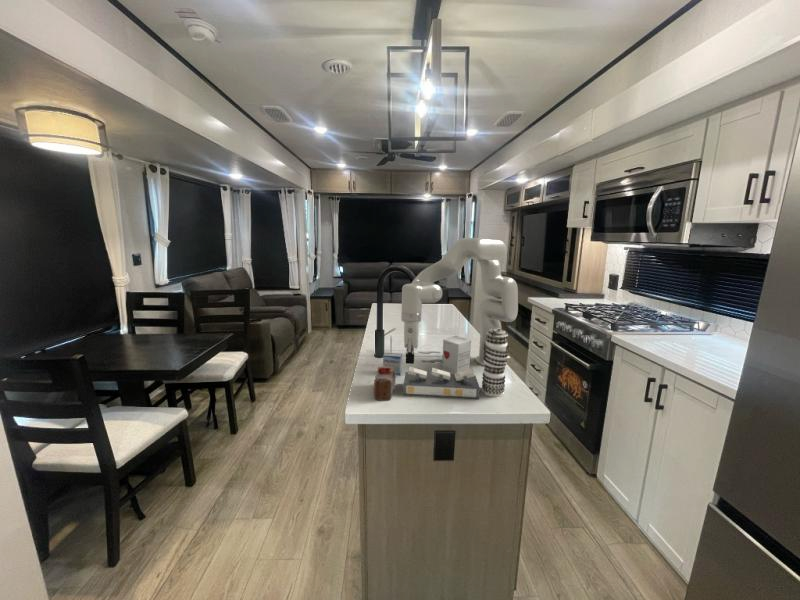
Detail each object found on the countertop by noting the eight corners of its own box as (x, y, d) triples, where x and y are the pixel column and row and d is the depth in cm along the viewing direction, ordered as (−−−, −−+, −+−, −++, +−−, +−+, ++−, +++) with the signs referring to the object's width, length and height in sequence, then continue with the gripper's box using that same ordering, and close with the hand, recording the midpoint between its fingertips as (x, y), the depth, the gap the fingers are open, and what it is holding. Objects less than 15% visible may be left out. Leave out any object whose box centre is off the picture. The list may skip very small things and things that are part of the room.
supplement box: (441, 370, 144) (442, 338, 141) (454, 365, 150) (455, 335, 147) (456, 377, 137) (458, 344, 135) (469, 372, 143) (471, 340, 140)
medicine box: (382, 374, 139) (382, 355, 138) (384, 370, 144) (384, 352, 142) (400, 375, 138) (400, 356, 137) (401, 371, 143) (402, 353, 141)
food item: (376, 384, 130) (376, 361, 128) (395, 384, 130) (395, 361, 128) (372, 400, 117) (372, 375, 115) (394, 401, 117) (395, 375, 115)
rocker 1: (425, 374, 126) (426, 371, 126) (425, 378, 122) (426, 375, 122) (408, 369, 126) (409, 366, 126) (408, 373, 123) (409, 370, 122)
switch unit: (474, 387, 128) (475, 369, 127) (478, 399, 118) (479, 380, 117) (405, 383, 131) (405, 366, 129) (403, 395, 121) (403, 376, 119)
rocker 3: (473, 372, 124) (472, 368, 124) (474, 376, 120) (473, 372, 120) (455, 376, 125) (454, 373, 125) (456, 380, 121) (455, 377, 121)
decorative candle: (486, 384, 131) (490, 325, 127) (508, 390, 125) (513, 329, 121) (476, 391, 124) (480, 330, 120) (499, 399, 118) (504, 334, 114)
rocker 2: (448, 375, 125) (449, 372, 125) (449, 379, 122) (450, 376, 121) (431, 371, 125) (432, 367, 125) (431, 374, 122) (432, 371, 122)
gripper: (420, 322, 112) (418, 371, 116) (421, 312, 127) (420, 356, 130) (399, 321, 113) (398, 369, 116) (403, 312, 128) (401, 355, 131)
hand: (409, 362), depth 123 cm, fingers closed
